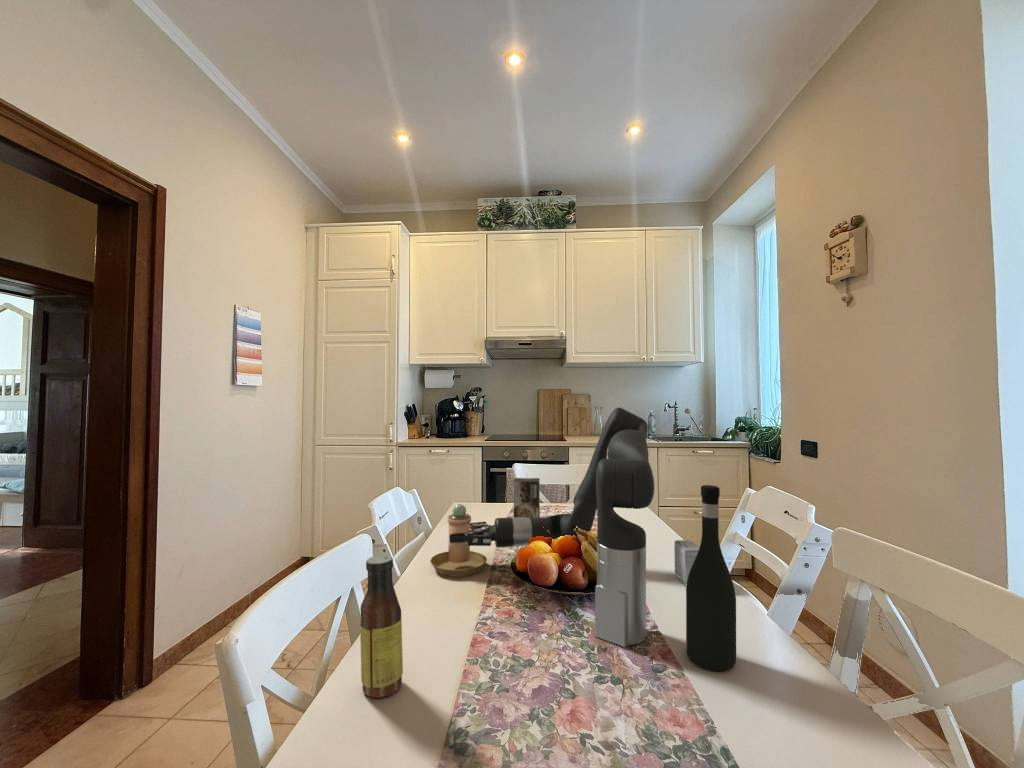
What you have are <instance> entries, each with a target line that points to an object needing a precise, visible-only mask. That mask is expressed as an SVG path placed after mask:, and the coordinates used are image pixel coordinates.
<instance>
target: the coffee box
mask: <svg viewBox="0 0 1024 768" xmlns="http://www.w3.org/2000/svg"><path fill="white" fill-rule="evenodd" d="M540 479H541V478H539V477H538V478H537V477H514V480H513V483H512V486H513V491H512V492H513V517H525V518H534V517H541V514H540V513H541V506H540V503H541V501H540V500H541V499H540V498H541V497H540V495H541V494H540V493H541V492H540V490H541V489H540V485H541V484H540V482H541V481H540Z"/></svg>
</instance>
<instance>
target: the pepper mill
mask: <svg viewBox="0 0 1024 768" xmlns="http://www.w3.org/2000/svg"><path fill="white" fill-rule="evenodd" d="M466 508H467V507H466V506H465V505H464V504H461V503H457V504H455V505H454V506H453V508H452V514H450V515H448V516H447V519H446V521H447V523H448V539H447V541H448V547H447V548H448V551H447V552H448V560H449V561H450V562H453V563H463V562H467V561H469V560H470V551H471V546H468V544H466V543H465V542H461V543H450V534H452V533H464V535H465V533H468V532H470V530H471V529H470V523H472V516H471V515H470V514H469V513H467V509H466Z"/></svg>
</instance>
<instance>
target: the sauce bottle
mask: <svg viewBox="0 0 1024 768" xmlns="http://www.w3.org/2000/svg"><path fill="white" fill-rule="evenodd" d="M393 567H394V560H393V557H392V556H391V555H388V554H387V555H386V554H383V555H382V554H380V555H379V554H378V555H375V556H371V557H369V558H367V560H366V561H365V568H366V571H367V584H366V586H367V591H366V594H365V596H364V597H363V600H362V602H361V604H360V623H359V626H360V629H359V630H360V631H359V632H360V633H359V634H360V671H361V673H360V677H361V679H360V680H361V684H362V685H361V686H362V692H363V694H364V695H366V696H368V697H370V698H374V699H380V698H381V699H382V698H386V697H389V696H391V695H393V694H396V692H398V690H399V689H400V688H401V686H402V684H403V681H402V680H403V674H404V673H403V672H404V670H403V669H404V666H403V665H404V663H403V662H404V661H403V660H404V658H403V630H402V629H403V627H402V626H403V624H402V623H403V622H402V621H403V620H402V618H403V617H402V608H401V606H400V603H399V599H398V597H397V593H396V590H395V586H394V581H393Z"/></svg>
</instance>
